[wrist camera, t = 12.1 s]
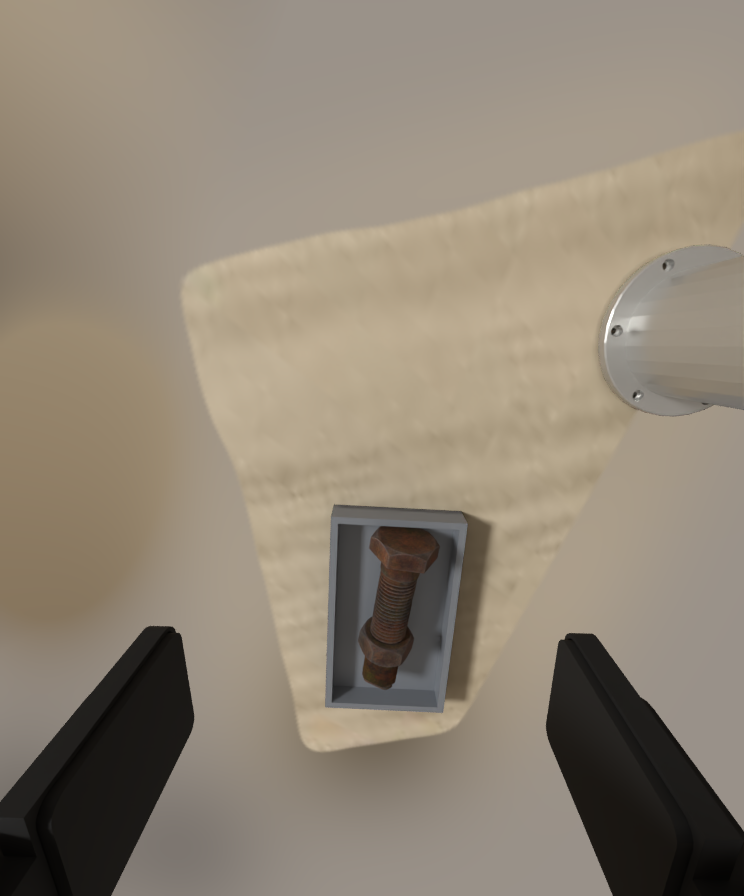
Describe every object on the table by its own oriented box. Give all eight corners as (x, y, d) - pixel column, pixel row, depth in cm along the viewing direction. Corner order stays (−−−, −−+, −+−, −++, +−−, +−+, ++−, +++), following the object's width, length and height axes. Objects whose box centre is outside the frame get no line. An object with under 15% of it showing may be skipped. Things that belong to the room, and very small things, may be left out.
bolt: (370, 645, 40) (395, 514, 35) (415, 671, 37) (447, 535, 33) (338, 685, 35) (362, 539, 30) (387, 717, 32) (420, 565, 28)
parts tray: (461, 511, 35) (467, 523, 32) (438, 690, 40) (443, 712, 37) (333, 504, 34) (331, 516, 32) (328, 685, 40) (325, 707, 37)
